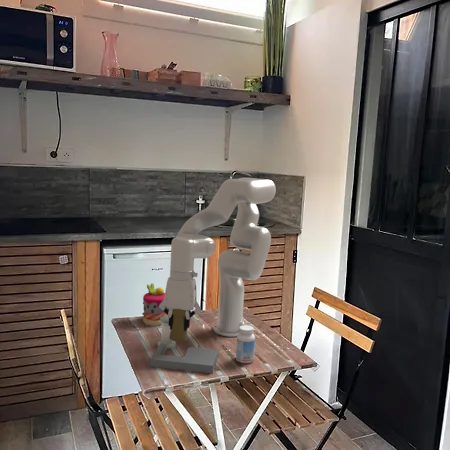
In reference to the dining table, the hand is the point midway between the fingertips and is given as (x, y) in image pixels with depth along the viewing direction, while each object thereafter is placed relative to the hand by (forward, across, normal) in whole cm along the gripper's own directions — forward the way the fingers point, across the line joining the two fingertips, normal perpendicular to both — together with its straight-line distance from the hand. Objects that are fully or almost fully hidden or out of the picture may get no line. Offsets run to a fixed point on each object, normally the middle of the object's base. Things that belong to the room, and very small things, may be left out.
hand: (178, 328), depth 151 cm
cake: (+10, +16, -29) cm, 34 cm away
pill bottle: (+10, -22, -3) cm, 24 cm away
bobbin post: (+10, +6, -8) cm, 14 cm away
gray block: (+10, -3, +3) cm, 11 cm away
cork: (+3, 0, 0) cm, 3 cm away
